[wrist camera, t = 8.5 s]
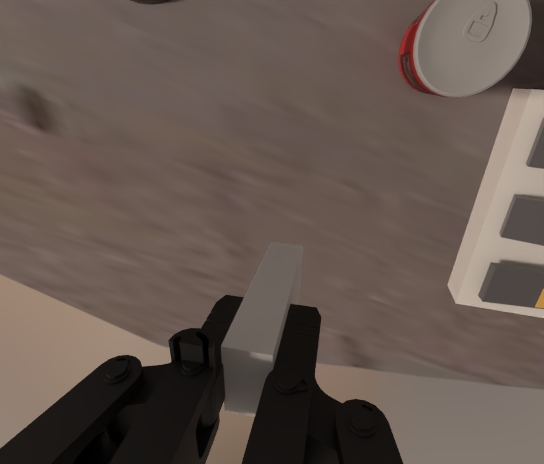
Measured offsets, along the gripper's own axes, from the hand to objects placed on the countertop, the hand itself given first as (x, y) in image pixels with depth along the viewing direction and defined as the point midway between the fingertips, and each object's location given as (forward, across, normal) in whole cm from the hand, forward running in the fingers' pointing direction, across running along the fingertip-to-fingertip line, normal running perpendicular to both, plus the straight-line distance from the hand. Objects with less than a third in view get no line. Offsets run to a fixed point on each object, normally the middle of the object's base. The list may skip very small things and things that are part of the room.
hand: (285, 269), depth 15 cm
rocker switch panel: (+28, +23, -2) cm, 36 cm away
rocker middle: (+22, +23, -5) cm, 32 cm away
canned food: (+29, +10, +10) cm, 32 cm away
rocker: (+22, +23, -12) cm, 34 cm away
